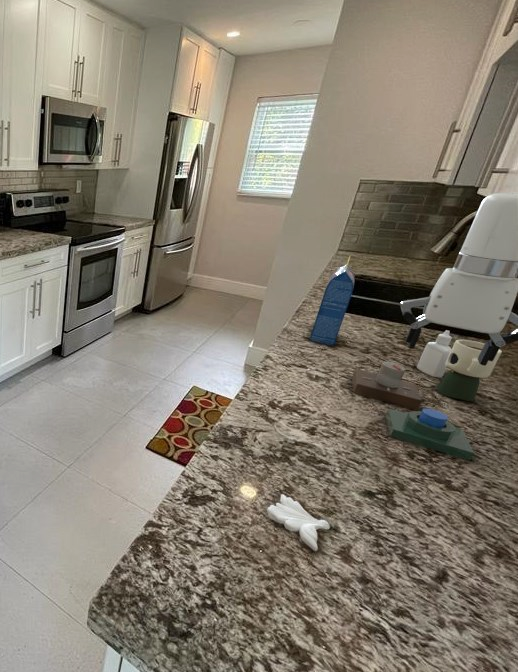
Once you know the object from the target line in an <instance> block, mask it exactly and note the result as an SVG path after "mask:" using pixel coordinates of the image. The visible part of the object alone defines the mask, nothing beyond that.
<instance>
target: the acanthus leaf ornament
mask: <svg viewBox="0 0 518 672" xmlns="http://www.w3.org/2000/svg"><path fill="white" fill-rule="evenodd" d="M266 511H267V513H266V514H267V517H268V518H269V519H271V520H272V521H274V522H276V523H278V524H281V525H283V526H284V528H285V529H286V530H288V531H290V532H299V537H300V539H301V540H302V542H303V543H305V544H306V545H307V546H308V547H309V548H310V549H311V550H312V551H314V552H317V551H318V549H319V548H318V544H317V543H318V539H319V538H318V532H317V530H319V529H323V530H329V529H330V528H331V527H330V524H329V522H328V521H327V520H324V519H317V518H315V517H313V516H312V515H311V514H310V513H308V512H307V511H306V510H305V509H304V508H303V506H302V505H301V504H300V502H298V501H297V500H294V499H293V498H292V497H290V496H288V497H287V496H286V495H285V494H284V493H283V494H280V499H279V502H276V503H275V505H274V504H270V505H269V506H268V507H267V509H266Z"/></svg>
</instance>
